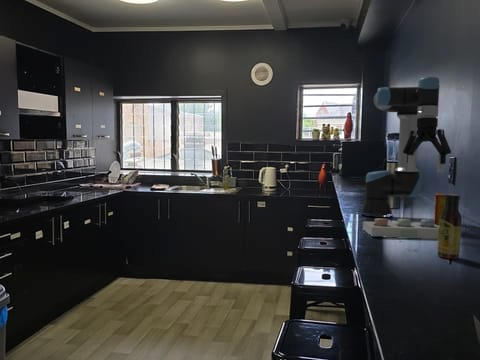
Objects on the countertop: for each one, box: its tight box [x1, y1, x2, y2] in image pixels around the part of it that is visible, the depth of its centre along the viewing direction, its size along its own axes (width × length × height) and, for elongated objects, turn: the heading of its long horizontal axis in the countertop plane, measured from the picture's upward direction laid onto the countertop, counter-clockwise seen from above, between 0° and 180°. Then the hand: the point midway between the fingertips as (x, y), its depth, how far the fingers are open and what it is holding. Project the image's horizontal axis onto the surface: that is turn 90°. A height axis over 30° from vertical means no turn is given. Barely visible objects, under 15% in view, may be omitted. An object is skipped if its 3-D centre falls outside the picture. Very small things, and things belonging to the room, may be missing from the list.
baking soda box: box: [432, 192, 447, 226], centre depth 184 cm, size 10×6×16 cm
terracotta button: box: [373, 218, 389, 226], centre depth 172 cm, size 5×5×3 cm
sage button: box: [397, 218, 412, 227], centre depth 172 cm, size 5×5×3 cm
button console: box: [362, 220, 439, 240], centre depth 174 cm, size 15×28×4 cm, turn 88°
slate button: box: [420, 218, 435, 228], centre depth 172 cm, size 5×5×3 cm
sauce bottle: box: [437, 193, 463, 260], centre depth 136 cm, size 6×6×20 cm
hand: (425, 172), depth 173 cm, fingers open, 13 cm apart
